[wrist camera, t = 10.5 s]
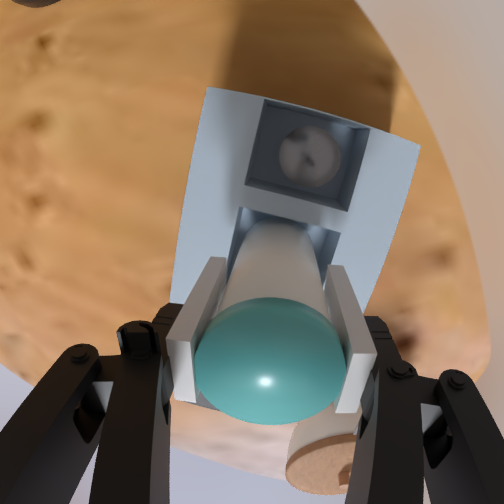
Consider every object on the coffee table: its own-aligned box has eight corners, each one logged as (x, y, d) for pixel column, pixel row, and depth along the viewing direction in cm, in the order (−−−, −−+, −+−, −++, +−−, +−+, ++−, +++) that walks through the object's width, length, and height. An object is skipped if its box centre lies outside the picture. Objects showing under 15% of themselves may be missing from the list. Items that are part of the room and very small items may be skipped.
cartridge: (239, 211, 19) (187, 307, 9) (320, 216, 19) (361, 320, 8) (237, 284, 21) (198, 417, 10) (311, 289, 20) (329, 427, 10)
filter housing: (185, 315, 27) (164, 357, 22) (226, 99, 21) (207, 86, 15) (318, 346, 27) (324, 394, 22) (388, 142, 21) (421, 145, 15)
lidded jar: (400, 384, 28) (424, 454, 19) (362, 444, 32) (372, 506, 23) (301, 374, 28) (304, 453, 20) (277, 437, 32) (272, 505, 23)
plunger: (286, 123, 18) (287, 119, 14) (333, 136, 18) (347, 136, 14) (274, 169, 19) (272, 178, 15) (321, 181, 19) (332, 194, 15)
